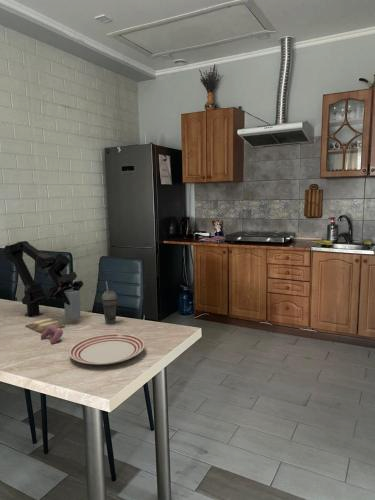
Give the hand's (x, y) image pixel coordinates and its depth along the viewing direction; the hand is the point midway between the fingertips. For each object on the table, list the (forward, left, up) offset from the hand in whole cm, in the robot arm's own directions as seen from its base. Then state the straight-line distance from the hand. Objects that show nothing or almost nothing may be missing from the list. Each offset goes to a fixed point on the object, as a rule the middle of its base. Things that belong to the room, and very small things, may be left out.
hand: (74, 303), depth 176 cm
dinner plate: (+42, -13, -10) cm, 45 cm away
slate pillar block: (-1, 0, -7) cm, 7 cm away
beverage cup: (+13, +11, -10) cm, 19 cm away
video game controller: (+12, -18, -10) cm, 24 cm away
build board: (-6, -12, -10) cm, 17 cm away
